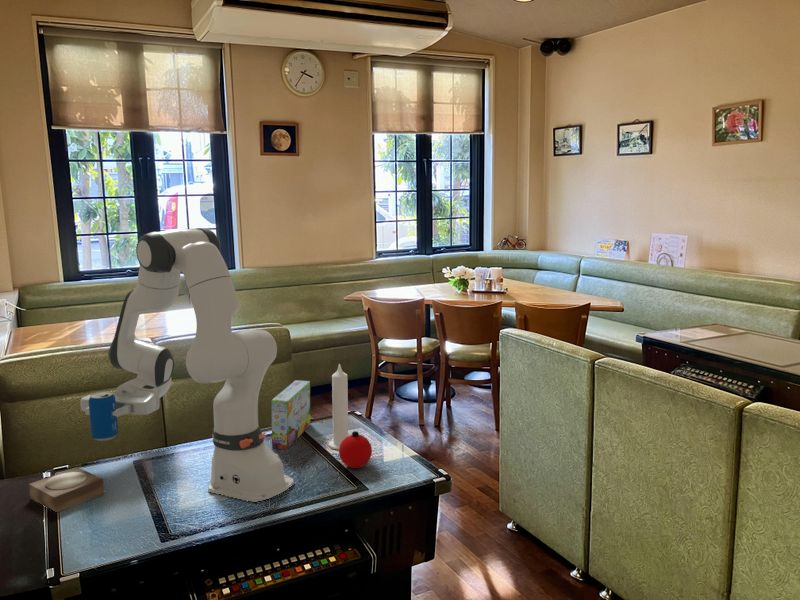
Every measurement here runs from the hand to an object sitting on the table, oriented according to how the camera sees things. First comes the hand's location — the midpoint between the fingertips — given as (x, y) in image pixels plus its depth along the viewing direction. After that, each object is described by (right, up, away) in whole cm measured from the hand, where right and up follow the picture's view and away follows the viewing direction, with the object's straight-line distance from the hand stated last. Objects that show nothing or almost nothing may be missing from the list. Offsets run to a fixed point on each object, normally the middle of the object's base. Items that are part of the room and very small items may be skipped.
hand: (100, 413), depth 169 cm
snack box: (+46, -12, +29) cm, 56 cm away
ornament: (+67, -16, +7) cm, 69 cm away
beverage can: (0, -7, +2) cm, 7 cm away
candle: (+62, -14, +21) cm, 67 cm away
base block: (-3, -19, -11) cm, 22 cm away
